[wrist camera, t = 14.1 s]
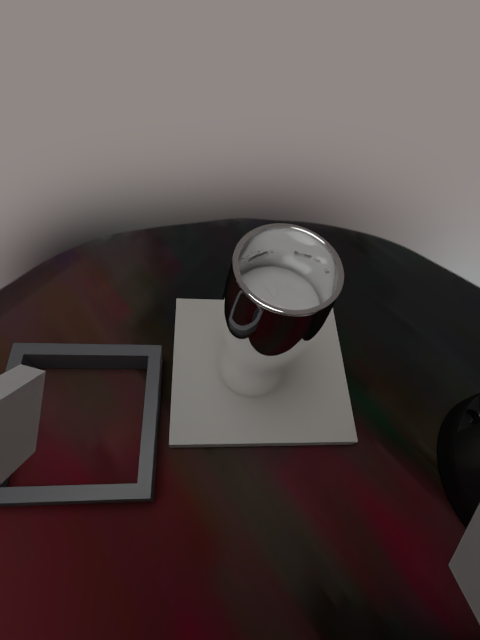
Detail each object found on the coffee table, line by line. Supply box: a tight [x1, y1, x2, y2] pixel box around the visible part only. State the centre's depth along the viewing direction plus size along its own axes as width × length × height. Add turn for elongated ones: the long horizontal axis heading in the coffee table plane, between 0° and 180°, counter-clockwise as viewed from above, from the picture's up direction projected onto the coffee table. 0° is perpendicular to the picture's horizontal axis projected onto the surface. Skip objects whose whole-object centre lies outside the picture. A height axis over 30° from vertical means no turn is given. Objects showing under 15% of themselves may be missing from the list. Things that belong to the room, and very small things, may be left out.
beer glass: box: [218, 223, 344, 397], centre depth 28 cm, size 7×7×15 cm
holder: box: [0, 343, 163, 507], centre depth 30 cm, size 12×12×3 cm
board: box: [169, 299, 358, 448], centre depth 35 cm, size 16×14×1 cm
